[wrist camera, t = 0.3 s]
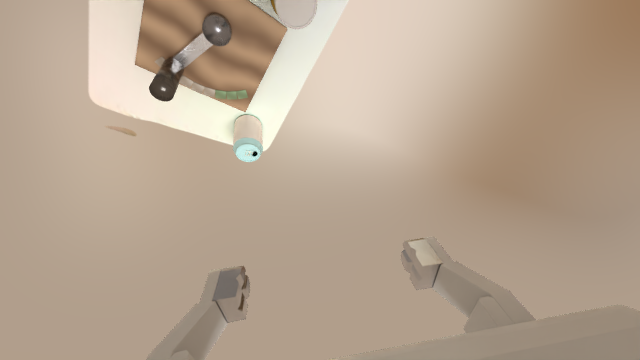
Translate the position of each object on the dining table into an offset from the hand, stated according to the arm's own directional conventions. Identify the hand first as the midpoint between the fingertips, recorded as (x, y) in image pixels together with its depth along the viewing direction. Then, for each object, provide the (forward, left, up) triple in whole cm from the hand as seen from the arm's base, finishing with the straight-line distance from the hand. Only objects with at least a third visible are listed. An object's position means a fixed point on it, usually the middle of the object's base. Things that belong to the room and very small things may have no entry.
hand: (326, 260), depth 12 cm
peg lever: (+15, -10, -50) cm, 53 cm away
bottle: (-4, +1, -52) cm, 52 cm away
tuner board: (+13, -7, -51) cm, 53 cm away
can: (+28, +7, -52) cm, 59 cm away
